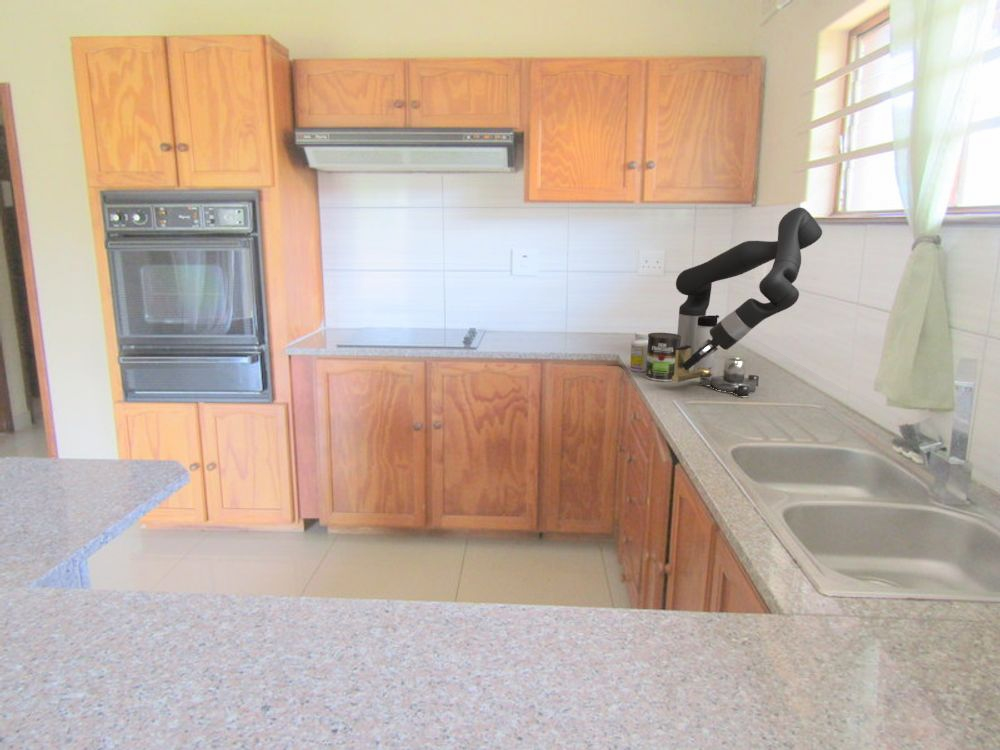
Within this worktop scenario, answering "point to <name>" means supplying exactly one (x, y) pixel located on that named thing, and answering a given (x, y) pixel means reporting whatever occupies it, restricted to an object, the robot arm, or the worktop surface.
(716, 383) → the levelling base
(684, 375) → the lever
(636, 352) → the supplement bottle
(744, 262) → the robot arm
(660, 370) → the coffee can
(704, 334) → the travel mug
